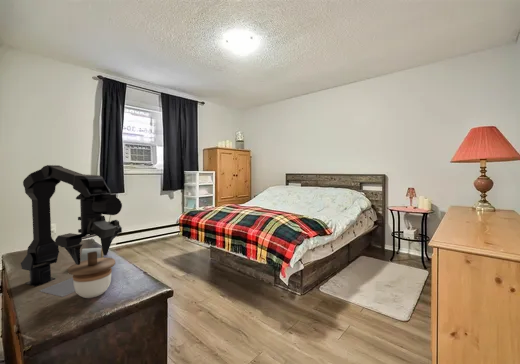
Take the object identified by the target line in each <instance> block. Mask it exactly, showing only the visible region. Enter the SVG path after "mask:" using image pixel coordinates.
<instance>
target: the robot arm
mask: <svg viewBox="0 0 520 364" xmlns="http://www.w3.org/2000/svg"><path fill="white" fill-rule="evenodd" d="M61 182H63V183H66V184H69V185H71V186H72V188H73V190H74V191H76V192H77V193H79V194H78V195H77V196H76V197H75V200H79V201H80V202H79V203H80V206H79V207H80V216H78V217H77V220H78V221H80V228H79V229H77V232H78V233H73V232H70V233H64V234H60V235H57V237H56V238H55V240H54V239H53V238H52V222H51V221H52V219H51V199H52V197H53V195H55V193H56V189H57V188H56V187H57V185H59V184H60V183H61ZM22 186H23V187H24V193H25V194H26V195H27V196H28V198H29V199H30V200H31V214H32V217H31V218H32V238H33V239H32V241H31V243H30V244H29V246H28V247H27V250H26V251H27V252H26V256H25V257H24V258H23V260H22V261H21V262H20V266H21V270H25V271H28V273H29V281H27V282H25V283H24V284H25V285H27V286H32V287H39V286H41V285H44V284H47V283H49V282H52V281H54V280H56V278H55V277H52V270H51V265H53V264H56V263H58V258H59V253H60V251H59V249H60V248H59V247H61V248H64V249H65V250H66V252H68V253H69V256H70V257H71V258H72V260H73V261H74V264H77V265H80V260H81V248H82V247H83V243H82V240H85V239H88V238H94V237H98V238H99V239H100V244H101V248H102V251H103V255H104V256H107V255H108V253H109V250H110V247H111V245H112V243H113V241H114V239H115V238H117V236H118V237H119V234H121V233H122V232H123V230H122V229H123V227H122V225H120V220H118V219H113V220H110V221H106V216H116V215H118V214H119V213H120V212H121V210H122V208H123V203H122V200H120V199H119V198H118V197H117V193H112V192H111V189H110V187H108V185H107V183H106V181H105V179H104V177H103V176H101V175H96V174H84V173H81V172H78V171H74V170H71V169H69V168H66V167H63V166H62V165H56V164H55V165H54V164H52V165H51V164H47V165H43V167H41V168H40V169H38V170H36V171H33V172H30V173H29V174H28V175H27V176H26V177H25V178H24V179H23V181H22ZM105 215H106V216H105ZM81 243H82V244H81Z"/></svg>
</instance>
